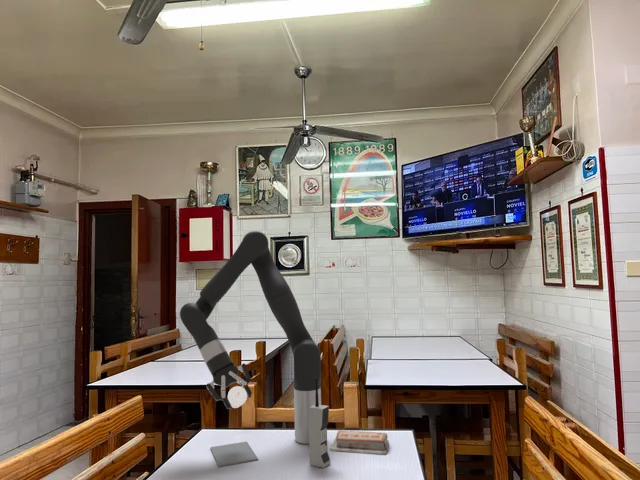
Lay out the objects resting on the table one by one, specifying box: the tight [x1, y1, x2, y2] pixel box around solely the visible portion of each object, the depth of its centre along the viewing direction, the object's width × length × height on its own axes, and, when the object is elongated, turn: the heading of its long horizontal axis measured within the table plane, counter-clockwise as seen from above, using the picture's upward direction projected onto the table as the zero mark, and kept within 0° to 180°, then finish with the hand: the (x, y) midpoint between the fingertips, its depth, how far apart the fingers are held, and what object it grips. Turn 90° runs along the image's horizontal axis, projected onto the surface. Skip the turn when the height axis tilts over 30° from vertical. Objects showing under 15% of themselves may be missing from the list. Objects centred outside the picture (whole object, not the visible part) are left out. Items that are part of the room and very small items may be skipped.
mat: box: [210, 441, 259, 468], centre depth 143 cm, size 12×16×1 cm
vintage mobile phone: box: [308, 378, 331, 469], centre depth 134 cm, size 4×5×25 cm
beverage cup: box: [227, 385, 248, 409], centre depth 144 cm, size 6×6×14 cm
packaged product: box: [329, 429, 390, 456], centre depth 146 cm, size 18×5×10 cm
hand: (240, 402), depth 142 cm, fingers closed on beverage cup, 6 cm apart
